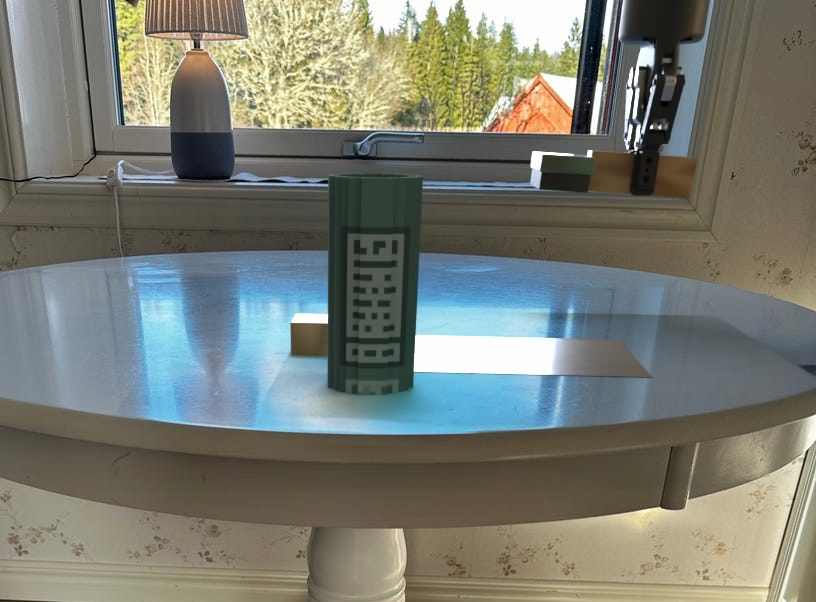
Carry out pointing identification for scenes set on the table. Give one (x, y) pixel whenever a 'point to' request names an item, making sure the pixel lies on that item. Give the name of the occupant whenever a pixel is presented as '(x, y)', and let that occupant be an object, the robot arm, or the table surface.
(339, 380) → the can
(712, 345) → the table surface
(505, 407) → the table surface
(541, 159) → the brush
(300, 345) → the cork block
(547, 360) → the board
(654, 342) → the table surface
